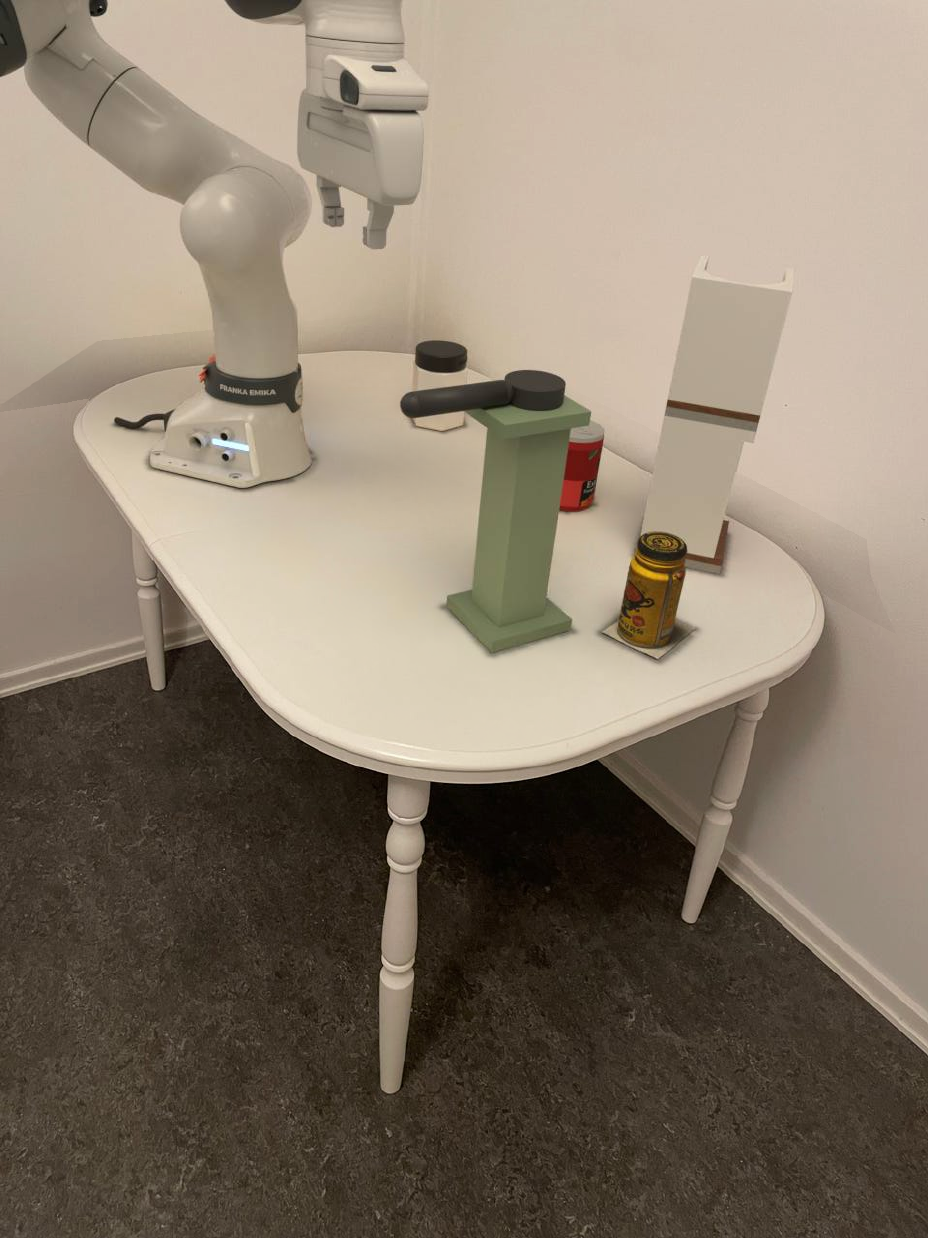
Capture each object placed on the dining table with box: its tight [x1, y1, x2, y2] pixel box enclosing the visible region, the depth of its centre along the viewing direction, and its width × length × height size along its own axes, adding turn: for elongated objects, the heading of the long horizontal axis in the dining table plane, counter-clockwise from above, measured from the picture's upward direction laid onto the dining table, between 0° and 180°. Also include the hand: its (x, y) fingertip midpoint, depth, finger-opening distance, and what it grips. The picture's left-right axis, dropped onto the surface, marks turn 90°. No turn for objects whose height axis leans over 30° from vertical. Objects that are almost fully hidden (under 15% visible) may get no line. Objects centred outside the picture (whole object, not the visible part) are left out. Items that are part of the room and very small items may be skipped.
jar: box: [411, 339, 469, 432], centre depth 153 cm, size 9×8×12 cm
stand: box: [445, 394, 592, 654], centre depth 102 cm, size 12×10×26 cm
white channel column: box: [639, 255, 795, 575], centre depth 117 cm, size 11×11×35 cm
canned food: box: [559, 419, 606, 513], centre depth 133 cm, size 8×8×11 cm
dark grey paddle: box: [399, 369, 567, 419], centre depth 91 cm, size 18×6×2 cm, turn 120°
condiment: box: [601, 531, 696, 660], centre depth 106 cm, size 7×8×12 cm
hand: (353, 236), depth 95 cm, fingers open, 8 cm apart
